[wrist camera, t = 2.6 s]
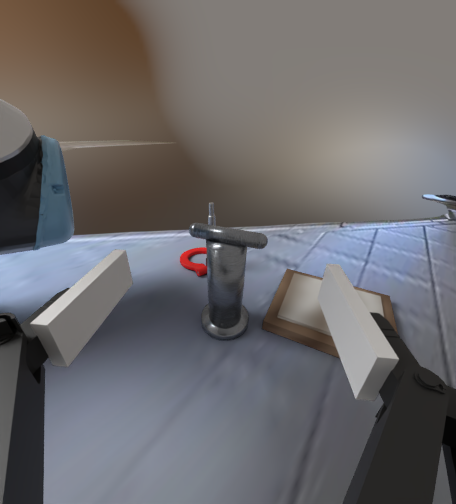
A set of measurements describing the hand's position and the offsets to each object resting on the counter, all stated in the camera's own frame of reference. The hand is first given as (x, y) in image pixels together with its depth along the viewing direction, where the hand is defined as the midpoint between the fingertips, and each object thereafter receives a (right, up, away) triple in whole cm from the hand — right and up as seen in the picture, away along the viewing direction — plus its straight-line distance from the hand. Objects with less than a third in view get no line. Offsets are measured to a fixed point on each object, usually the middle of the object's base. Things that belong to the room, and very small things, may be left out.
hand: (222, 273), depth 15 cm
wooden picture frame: (+15, -8, +18) cm, 25 cm away
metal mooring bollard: (0, -8, +17) cm, 18 cm away
